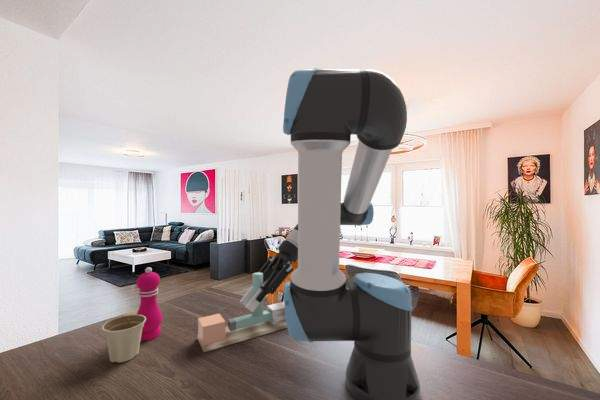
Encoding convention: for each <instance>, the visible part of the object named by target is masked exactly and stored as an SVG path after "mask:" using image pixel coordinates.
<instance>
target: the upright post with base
mask: <svg viewBox="0 0 600 400" xmlns="http://www.w3.org/2000/svg"><path fill="white" fill-rule="evenodd" d="M251 276H252V277H251V278H252V279H251V280H252V281H251V282H252V285H251V287H252V298H253V296H254V295H255V294H256V293H257V291H258V290H259V289H261V288H260V287H261V286H262V287H263V286H264V284H263V273H260V272H258V271H257V272H254V273H252V275H251ZM271 320H272V311H270V310H267V309H266V310H264V299H263V300H262V301H261V302H260V304H259V305H258V306H257V307H256V309H255V310H254V311H253V313H252V312H251V313H250V314H245V315H241V316H237V317H232V318H229V319H227V327H228V329H229V330H230V331H234V330H237V329H241V328H245V327H248V326H252V325H256V324H259V323H263V322H267V321H271Z"/></svg>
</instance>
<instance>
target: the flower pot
mask: <svg viewBox="0 0 600 400" xmlns="http://www.w3.org/2000/svg"><path fill="white" fill-rule="evenodd" d="M145 321H146V317H145V316H143V315H136V314H127V315H122V316H118V317H115V318H112V319H109V320H108V321H106V322H105V323H104V324H102V326H101V330H102V331H103V333H104V336H105V338H106V344H107V351H108V352H107V353H108V356H109V361H110V363H118V364H119V363H125V362H128V361H131V360H132V359H134V358H135V357H136V356H137V355H139V352H140V345H141V341H140V340H141V334H142V328H143V326H144V323H145Z"/></svg>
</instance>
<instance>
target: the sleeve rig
mask: <svg viewBox="0 0 600 400" xmlns="http://www.w3.org/2000/svg"><path fill="white" fill-rule="evenodd" d="M266 310H270V311H272V320H271V321H267V322H263V323H259V324H256V325H252V326H248V327H245V328H241V329H237V330H234V331H230V330H229V329H228V326H225V340H222V341H219V342H215V343H211V344H208V345H204V346H203V345H202V343H201V341H200V339H199V337H198V333H197V337H196V338H197V341H198V343H199V345H200V348H201V350H202V352H203V353H206V352H210V351H212V350H213V351H214V350H216V349H219V348H223V347H227V346H230V345H233V344H236V343H240V342H243V341H247V340H250V339H254V338H258V337H260V336H264V335H268V334H270V333H274V332H277V331H281V330H284V329H287V324H286V317H285V304H284V301H281V302H277V303H272V304H269V305H267V304H266Z"/></svg>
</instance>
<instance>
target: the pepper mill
mask: <svg viewBox="0 0 600 400" xmlns="http://www.w3.org/2000/svg"><path fill="white" fill-rule="evenodd" d="M160 283H161V277H160V275H159V273H156V272H154V271H153V269H152V267H149V266H148V267H146V268H145V269H144V273H141V274H140V275H139V276H138V277H137V280H136V286H137V288H138V289H139V290H138V296H139V298H140V303H139V307H138V311H137V313H136V314H135V315H143V316H145V317H146V321H145V323H144V326H143V328H142V334H141V340H140V342H145V341H150V340H154V339H156V338H157V337H159V336H160V335H161V333H162V327H161V324H162V322H163V314H162V311H161V308H160V307H159V305H158V302H157V300H158V299H157V295H158V293H159V288H158V286H159V285H160Z"/></svg>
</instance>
